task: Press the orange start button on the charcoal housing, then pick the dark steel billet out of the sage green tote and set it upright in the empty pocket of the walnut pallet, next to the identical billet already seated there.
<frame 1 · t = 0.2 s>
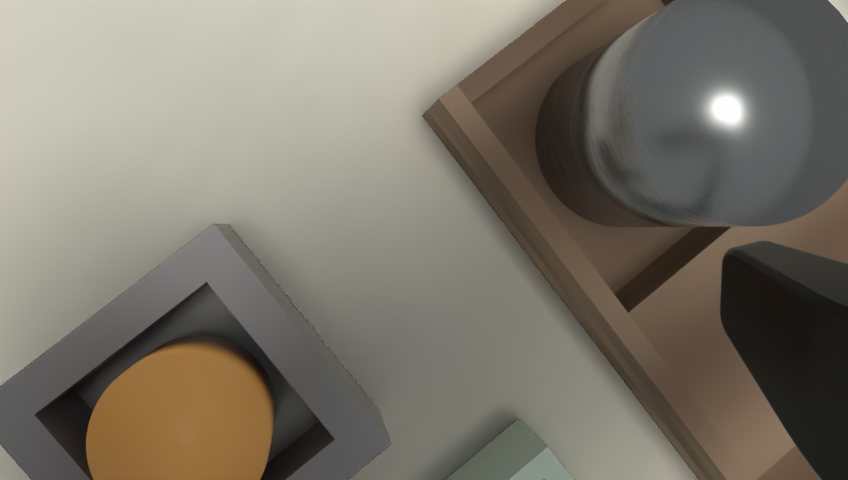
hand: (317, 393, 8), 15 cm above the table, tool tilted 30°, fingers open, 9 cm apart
seated steel billet: (620, 138, 23), resting on walnut pallet
walnut pallet: (728, 306, 24), on the table
button housing: (208, 395, 22), on the table
start button: (190, 425, 19), point 3 cm above the table, slide at 0.0 cm
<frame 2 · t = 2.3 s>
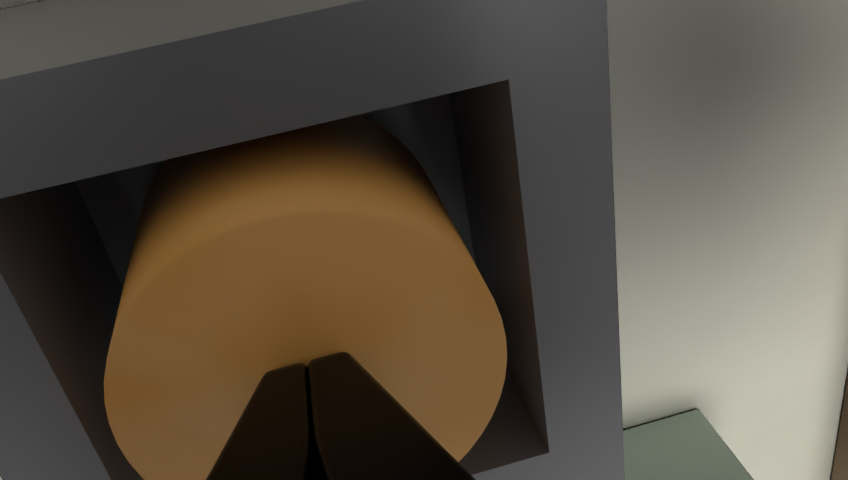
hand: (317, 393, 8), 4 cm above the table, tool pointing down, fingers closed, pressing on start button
button housing: (290, 209, 11), on the table
start button: (304, 307, 9), point 3 cm above the table, slide at 0.7 cm, touching gripper
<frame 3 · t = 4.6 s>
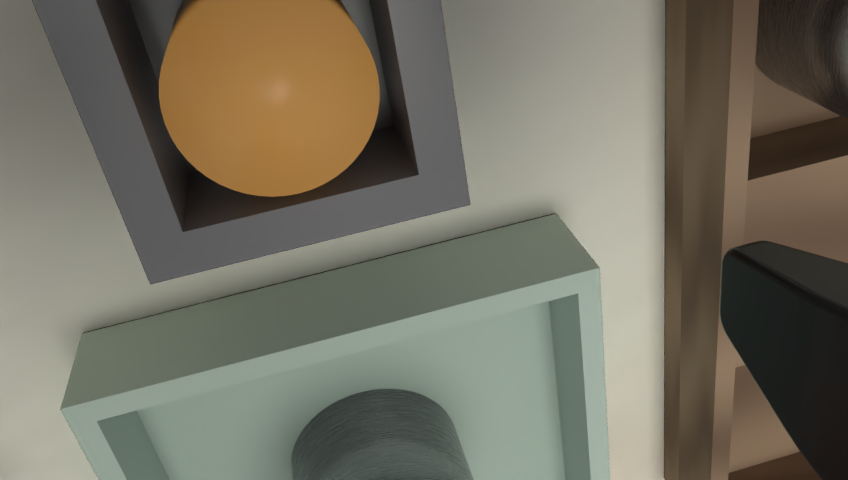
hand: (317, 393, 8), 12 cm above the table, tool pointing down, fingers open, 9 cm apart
walnut pallet: (791, 200, 23), on the table
steel billet: (375, 454, 24), resting on sage tote
button housing: (265, 42, 18), on the table
start button: (269, 74, 15), point 3 cm above the table, slide at 0.7 cm
sage tote: (373, 443, 24), on the table
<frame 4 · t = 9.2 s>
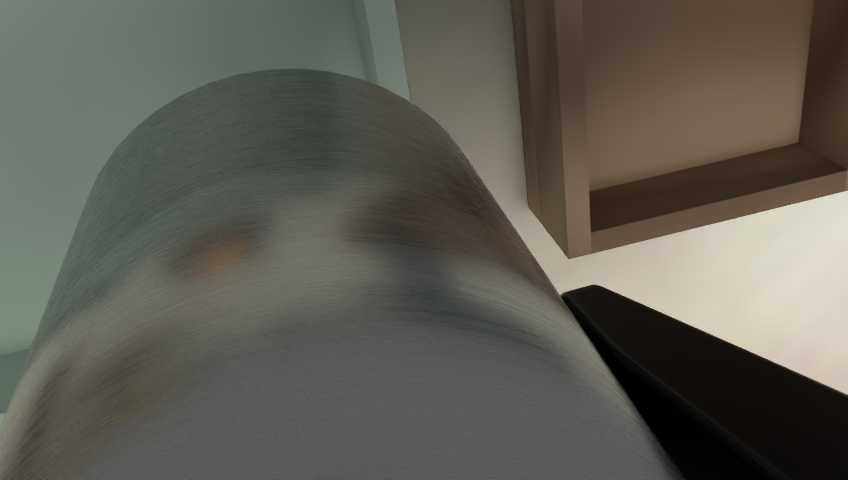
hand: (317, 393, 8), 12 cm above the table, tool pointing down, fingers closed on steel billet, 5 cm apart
steel billet: (295, 266, 10), point 10 cm above the table, touching gripper
sage tote: (101, 90, 18), on the table
when the fingers open (5 cm above the table, at t = 11.7 s): steel billet drops 1 cm, resting on walnut pallet.
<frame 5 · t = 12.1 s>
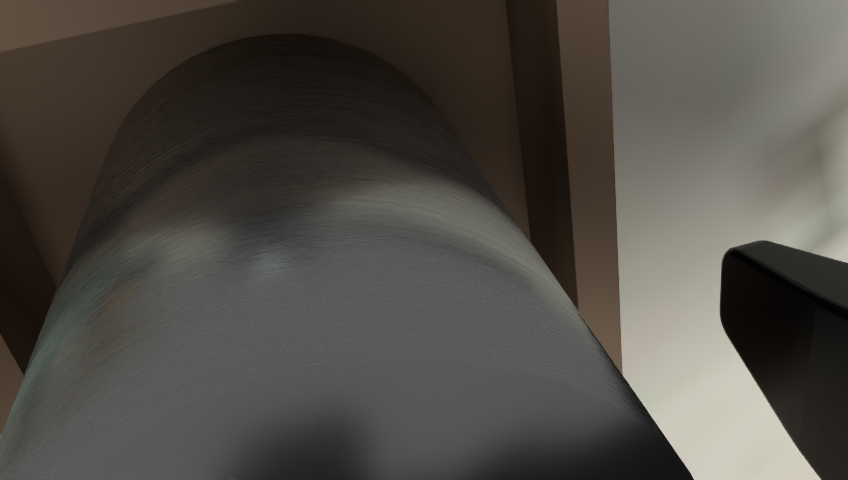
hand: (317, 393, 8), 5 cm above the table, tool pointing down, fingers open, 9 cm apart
steel billet: (292, 213, 11), point 1 cm above the table, touching walnut pallet
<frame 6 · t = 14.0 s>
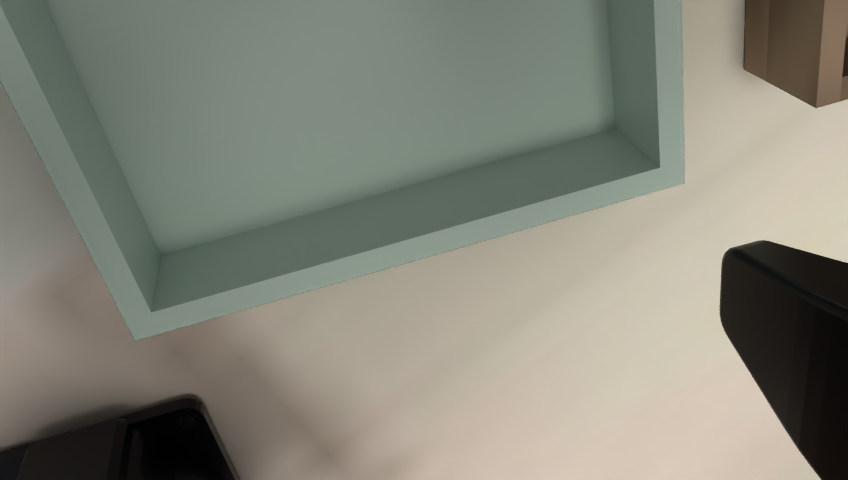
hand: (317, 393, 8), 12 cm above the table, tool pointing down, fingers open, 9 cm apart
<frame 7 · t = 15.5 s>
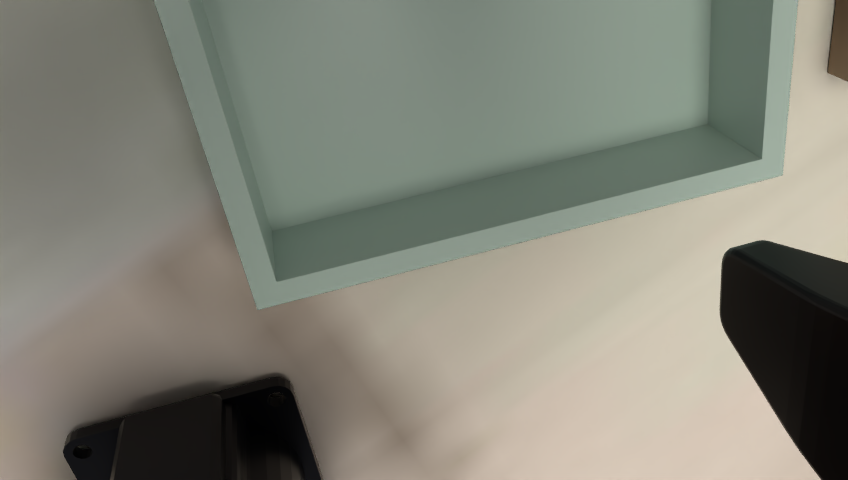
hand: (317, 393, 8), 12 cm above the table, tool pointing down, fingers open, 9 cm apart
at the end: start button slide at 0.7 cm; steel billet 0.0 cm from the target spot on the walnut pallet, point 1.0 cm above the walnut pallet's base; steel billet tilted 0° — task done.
